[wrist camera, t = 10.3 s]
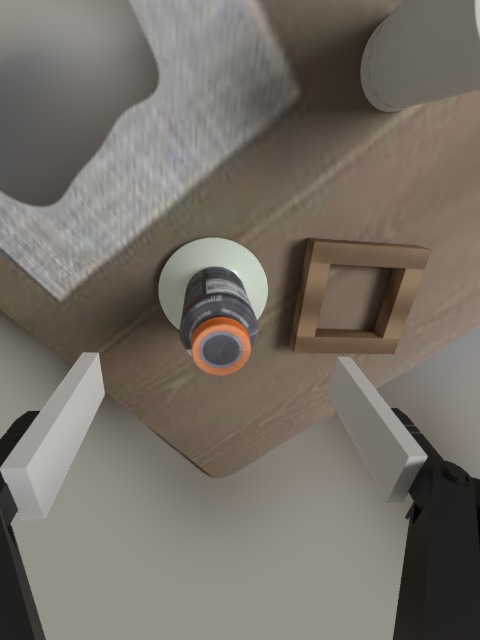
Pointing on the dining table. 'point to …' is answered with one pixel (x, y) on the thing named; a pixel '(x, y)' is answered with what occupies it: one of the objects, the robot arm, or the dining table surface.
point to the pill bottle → (218, 321)
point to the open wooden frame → (393, 309)
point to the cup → (422, 54)
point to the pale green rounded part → (204, 256)
